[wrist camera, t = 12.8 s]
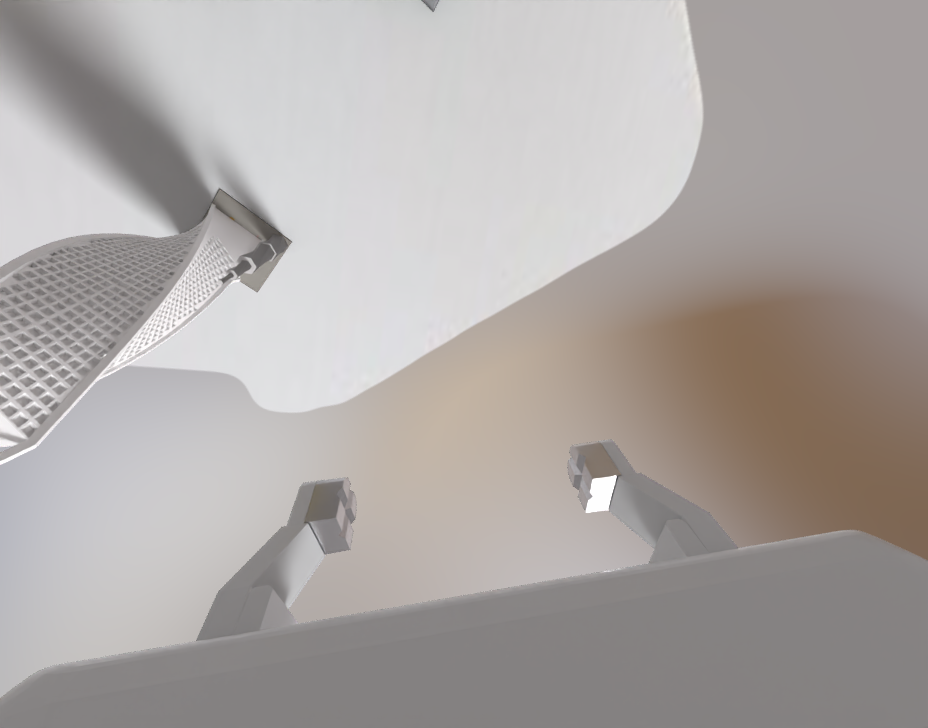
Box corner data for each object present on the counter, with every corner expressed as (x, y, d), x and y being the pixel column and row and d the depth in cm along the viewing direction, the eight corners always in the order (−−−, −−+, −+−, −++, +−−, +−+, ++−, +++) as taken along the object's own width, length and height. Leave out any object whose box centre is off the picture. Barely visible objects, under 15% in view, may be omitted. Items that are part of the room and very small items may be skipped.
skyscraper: (252, 300, 37) (-28, 558, 14) (170, 250, 33) (-404, 480, 10) (292, 241, 34) (33, 432, 11) (209, 179, 31) (-448, 265, 7)
